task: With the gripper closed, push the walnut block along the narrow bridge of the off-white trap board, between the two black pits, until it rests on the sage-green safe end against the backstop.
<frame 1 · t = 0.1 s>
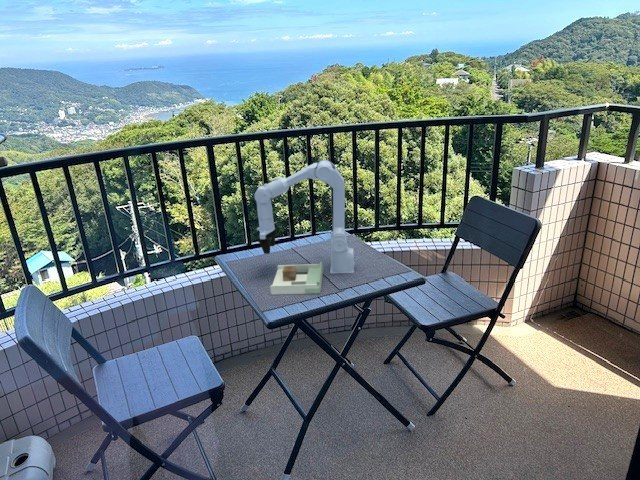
hand: (269, 249, 175), 10 cm above the table, tool pointing down, fingers open, 7 cm apart
trap board: (298, 282, 168), on the table
walnut block: (290, 278, 168), point 2 cm above the table, touching trap board
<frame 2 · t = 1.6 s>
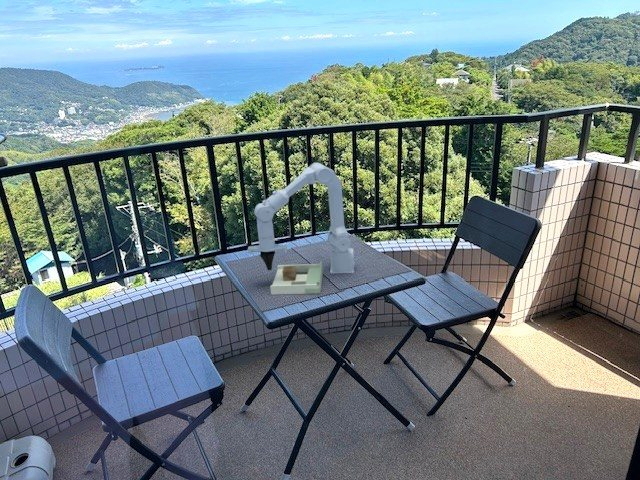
hand: (269, 269, 167), 6 cm above the table, tool pointing down, fingers closed
nothing on the table moved.
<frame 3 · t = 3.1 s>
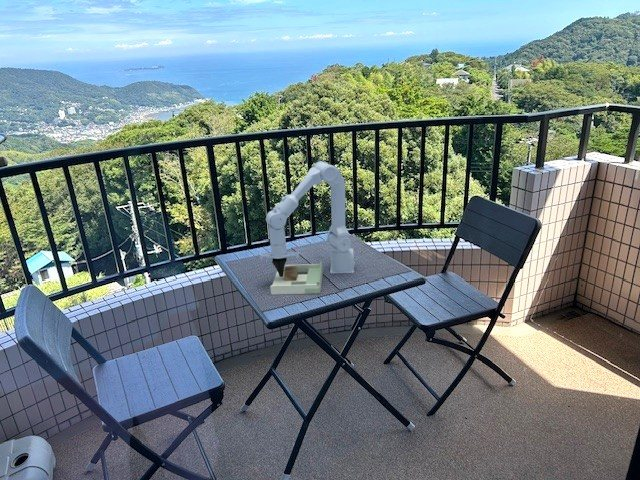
hand: (281, 275, 168), 3 cm above the table, tool pointing down, fingers closed
walnut block: (291, 278, 168), point 2 cm above the table, touching gripper, trap board
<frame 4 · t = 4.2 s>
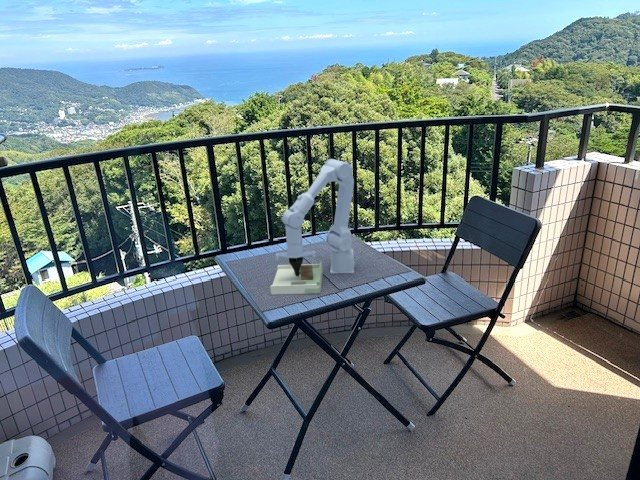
hand: (297, 275, 167), 3 cm above the table, tool pointing down, fingers closed
walnut block: (307, 277, 168), point 2 cm above the table, touching gripper
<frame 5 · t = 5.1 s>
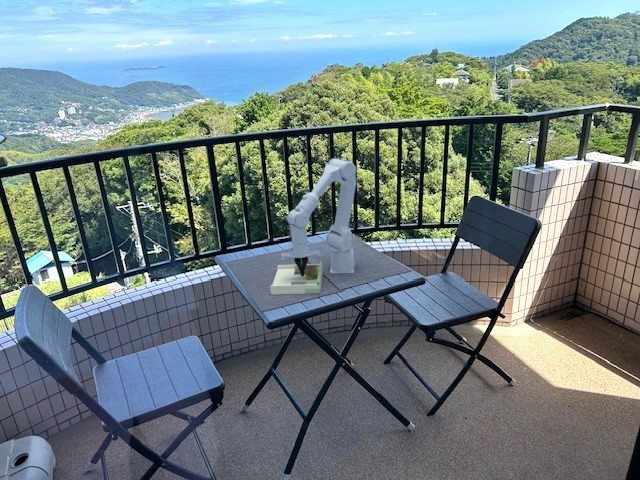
hand: (302, 274, 167), 3 cm above the table, tool pointing down, fingers closed
walnut block: (312, 277, 168), point 2 cm above the table, touching gripper, trap board
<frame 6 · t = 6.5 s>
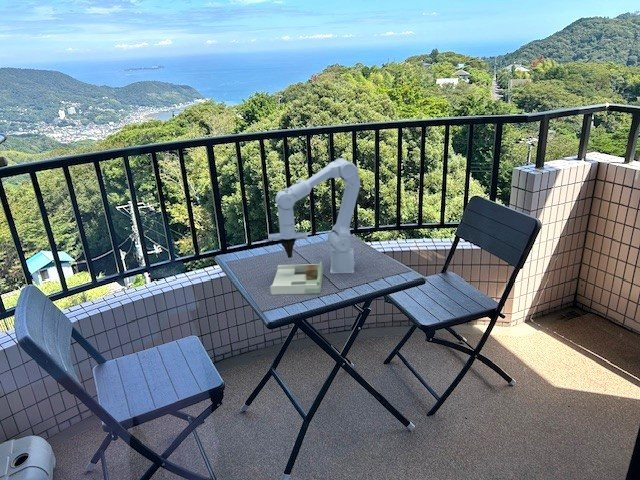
hand: (290, 256, 169), 9 cm above the table, tool pointing down, fingers closed
walnut block: (312, 277, 168), point 2 cm above the table, touching trap board
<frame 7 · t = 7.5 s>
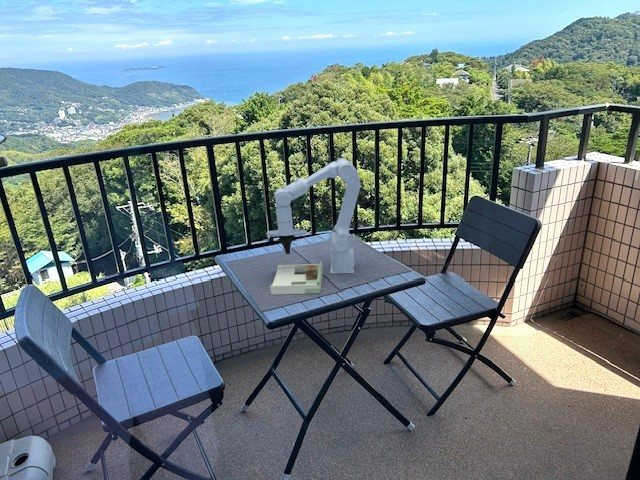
hand: (288, 253, 172), 9 cm above the table, tool pointing down, fingers closed
nothing on the table moved.
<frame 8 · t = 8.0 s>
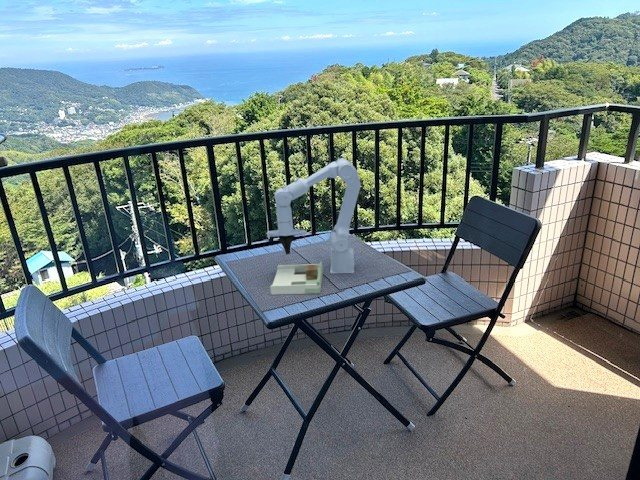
hand: (288, 253, 172), 9 cm above the table, tool pointing down, fingers closed
nothing on the table moved.
at the end: walnut block 0.8 cm from the target spot, point 2.0 cm above the table; walnut block tilted 0° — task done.
